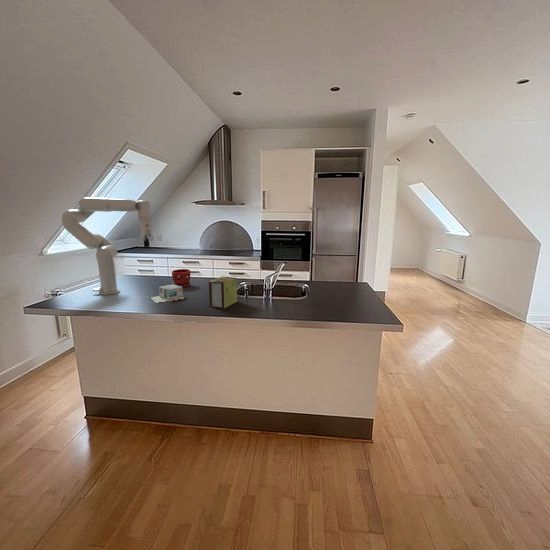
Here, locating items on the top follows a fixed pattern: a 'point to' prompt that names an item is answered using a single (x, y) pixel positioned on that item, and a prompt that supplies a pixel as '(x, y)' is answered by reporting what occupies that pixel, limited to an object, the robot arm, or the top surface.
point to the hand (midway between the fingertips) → (146, 246)
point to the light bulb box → (170, 291)
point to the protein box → (223, 291)
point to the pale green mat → (164, 299)
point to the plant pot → (181, 277)
